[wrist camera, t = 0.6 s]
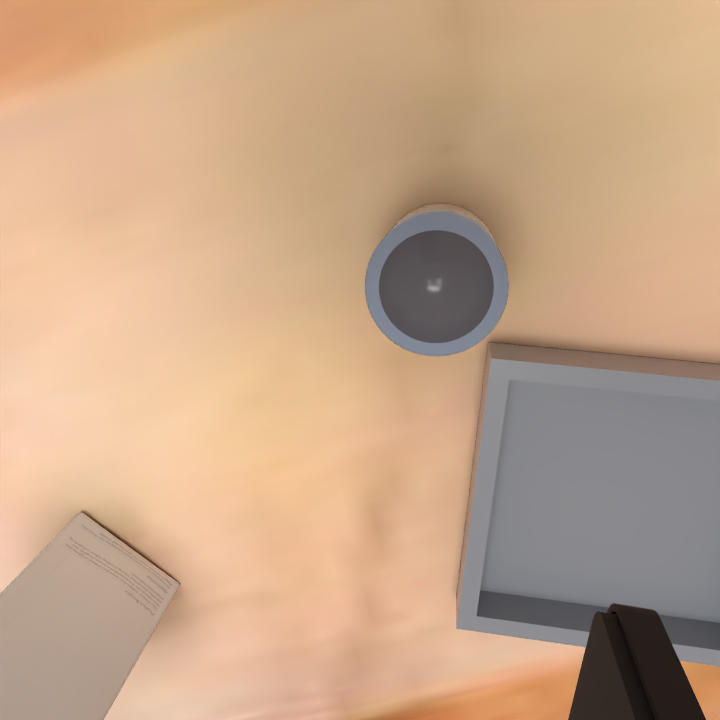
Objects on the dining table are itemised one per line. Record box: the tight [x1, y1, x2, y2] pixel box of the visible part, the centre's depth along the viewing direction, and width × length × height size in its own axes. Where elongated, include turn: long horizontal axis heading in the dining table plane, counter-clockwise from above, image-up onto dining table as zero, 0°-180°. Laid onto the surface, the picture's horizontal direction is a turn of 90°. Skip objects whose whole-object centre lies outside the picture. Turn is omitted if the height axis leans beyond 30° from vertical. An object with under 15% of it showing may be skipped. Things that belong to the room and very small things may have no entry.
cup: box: [365, 204, 508, 356], centre depth 31 cm, size 6×6×7 cm
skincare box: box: [0, 512, 180, 720], centre depth 36 cm, size 8×6×15 cm
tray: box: [456, 342, 720, 666], centre depth 35 cm, size 16×16×3 cm
